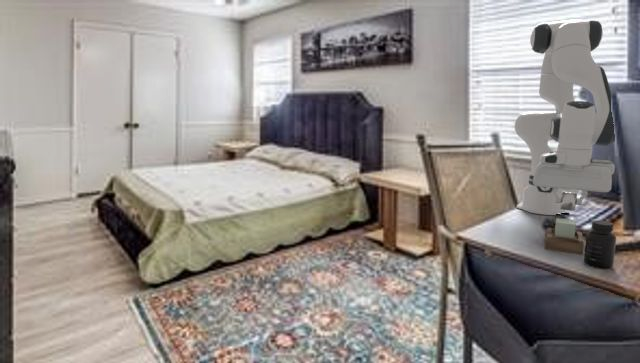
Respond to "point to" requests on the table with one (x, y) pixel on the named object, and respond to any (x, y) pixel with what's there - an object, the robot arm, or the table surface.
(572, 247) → the walnut base
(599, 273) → the table surface
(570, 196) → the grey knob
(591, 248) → the supplement bottle
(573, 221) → the sage cube
